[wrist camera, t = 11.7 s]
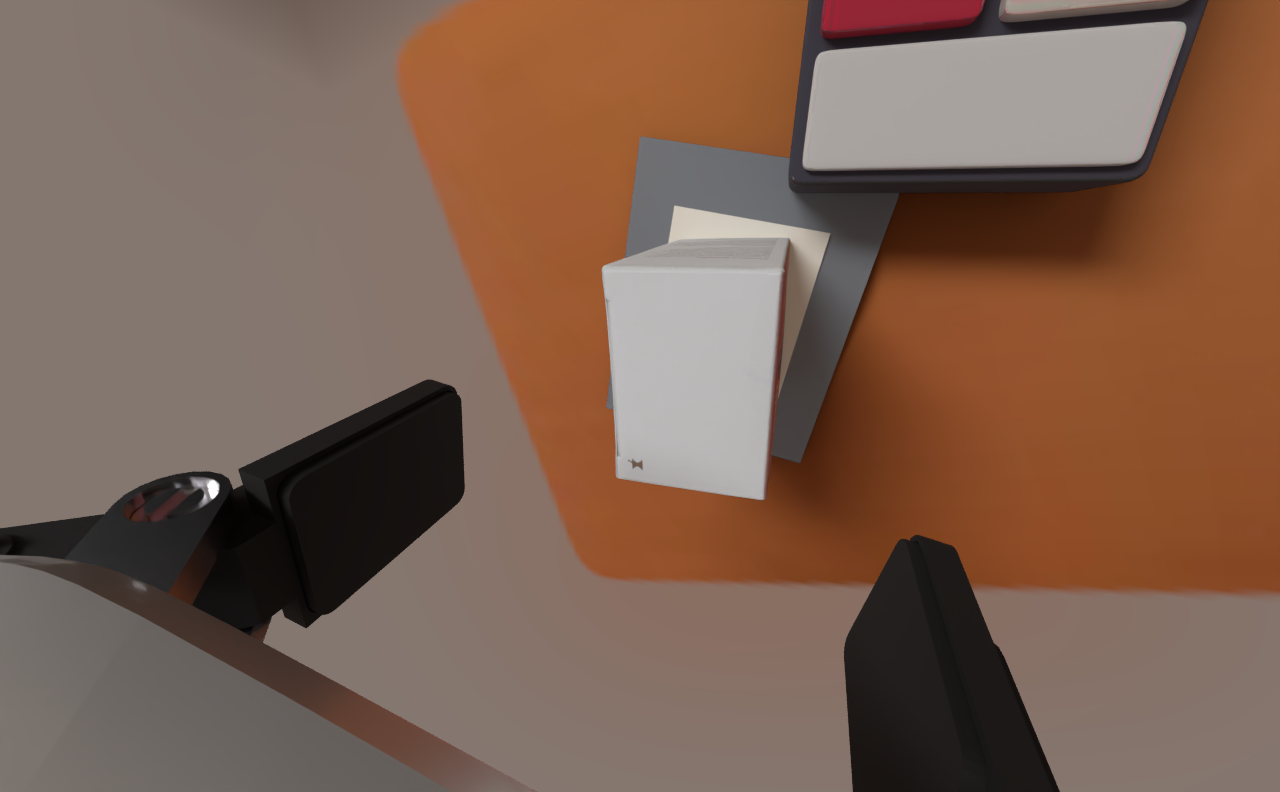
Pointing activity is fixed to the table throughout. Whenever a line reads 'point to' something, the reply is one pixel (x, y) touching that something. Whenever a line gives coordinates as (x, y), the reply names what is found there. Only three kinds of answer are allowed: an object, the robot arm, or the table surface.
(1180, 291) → the table surface
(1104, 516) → the table surface
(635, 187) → the board
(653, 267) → the small box
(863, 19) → the calculator
